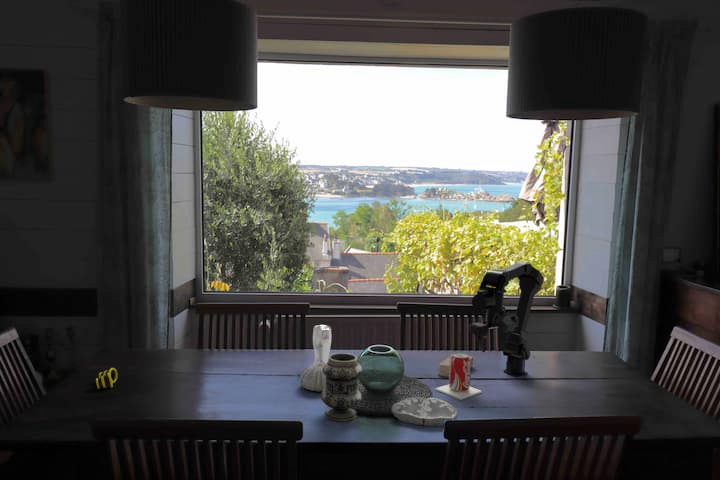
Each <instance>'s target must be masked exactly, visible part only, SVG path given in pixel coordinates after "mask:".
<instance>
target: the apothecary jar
mask: <svg viewBox="0 0 720 480" xmlns="http://www.w3.org/2000/svg"><path fill="white" fill-rule="evenodd" d="M322 370H323V373H324V375H325V376H326V389H324V390H323V391H321V395H320V397H321V401H322V402H323V403H324V404H325V405H326V406H327V407H329V409H327V410H325V411H324V417H325V418H326V419H327V420H330V421H335V422H348V421H352V420H354V419H356V418H357V417H358V416H357V414H358V412H357V411H356V410H355V409H353V408H354V407H356V406H358V405H359V404H360V403H361V401H362V394H361V392H360V390H359V389H358V386H359V384H358V382H359V377H360V376H361V374H362V373H363V368H362V365H361V364H360V362H359V363H358V359H357V356H356V354H355V355H354V354H353V353H348V352H335V353H331V354H329V358H328V362H327V363H325V364H324V366H323V369H322Z"/></svg>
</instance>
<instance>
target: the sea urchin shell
mask: <svg viewBox="0 0 720 480" xmlns="http://www.w3.org/2000/svg"><path fill="white" fill-rule="evenodd" d="M323 366H324V364H318V363H317V364H314V363H313V364H312V365H310V366H308V367H307V368H305V370H303V372H302V373H301V375H300V378H299V383H300V385H301V386H302V388H304V389H306V390H309V391H313V392H314V391H315V392H323V390H324V389H326V376H325V375H324V373H323V370H322V369H323Z"/></svg>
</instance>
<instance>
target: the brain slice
mask: <svg viewBox="0 0 720 480" xmlns="http://www.w3.org/2000/svg"><path fill="white" fill-rule="evenodd" d="M391 413H392V414H393V416H394V417H395V418H396V419H398V420H399V421H401V422H403V423H404V422H405V423H409V424H413V425H417V426H418V425H419V426H425V427H426V426H427V427H435V426H437V427H442V426H443V425H444V421H445V420H452V419H454V420H456V417H457V416H458V415H457V414H458V408H457V407H455V406H453V405H452V404H450V403H449V402H447V401H445V400H443V399H440V398H436V397H427V398H425V397H423V396H411V397H406V398H403V399H401V400H399V401H397V402H395V403H393V404H392V405H391Z"/></svg>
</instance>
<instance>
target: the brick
mask: <svg viewBox="0 0 720 480" xmlns="http://www.w3.org/2000/svg"><path fill="white" fill-rule="evenodd" d="M451 357H452V354H451V355H450V356H449V357H448V358H445V360H443V361H442V362H440V363H439V364H438V365H439V366H438V375H439V376H441V377H447V378H449V368H450V358H451ZM469 358H470V360H471V368H472V367H473V366H474V356H472V355H469Z"/></svg>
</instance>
